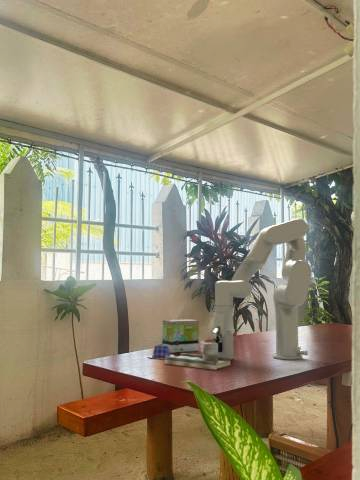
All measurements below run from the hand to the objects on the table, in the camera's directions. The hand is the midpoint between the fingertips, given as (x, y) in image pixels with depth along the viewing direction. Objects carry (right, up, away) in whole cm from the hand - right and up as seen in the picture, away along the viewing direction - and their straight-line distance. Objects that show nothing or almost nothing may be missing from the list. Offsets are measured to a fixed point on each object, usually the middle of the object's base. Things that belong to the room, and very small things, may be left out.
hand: (224, 350), depth 188 cm
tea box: (-18, -7, +25) cm, 32 cm away
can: (0, -4, 0) cm, 4 cm away
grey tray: (-12, -3, -12) cm, 17 cm away
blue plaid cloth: (-27, -5, +6) cm, 28 cm away
